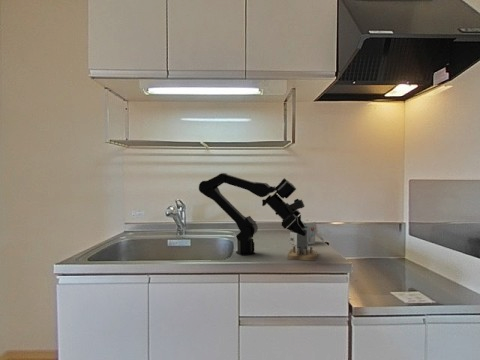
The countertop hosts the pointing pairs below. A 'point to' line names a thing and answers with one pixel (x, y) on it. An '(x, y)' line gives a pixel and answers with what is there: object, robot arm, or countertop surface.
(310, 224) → the light bulb box
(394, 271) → the countertop surface
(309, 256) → the wooden peg board
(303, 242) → the block
